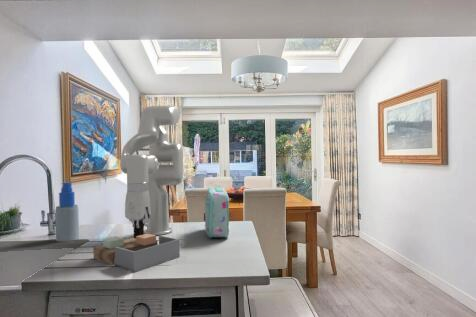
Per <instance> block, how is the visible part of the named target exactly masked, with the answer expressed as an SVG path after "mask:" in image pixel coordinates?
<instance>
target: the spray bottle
mask: <svg viewBox="0 0 476 317" xmlns="http://www.w3.org/2000/svg"><path fill="white" fill-rule="evenodd" d="M58 198H59V199H58V201H59V202H58V204H59V205H57V206H55V212H54V213H55V241H56V242H71V241H74V240H78V239H79V238H80V227H79V226H80V225H79V224H80V222H79V220H80V219H79V215H80V214H79V206H78V204H76V203H75V200H76V199H75V198H76V197H75V191H73V187H72V182H61V189H60V192H58Z"/></svg>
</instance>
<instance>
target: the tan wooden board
mask: <svg viewBox="0 0 476 317" xmlns="http://www.w3.org/2000/svg"><path fill="white" fill-rule="evenodd" d="M156 245H159V242H158V240H157V239H156V243H152V244H148V245H145V246H144V245H140V244H137V243H136V239H135V238H134V236H133V237H129V238H124V246H120V248H124V249H127V250H131V251H138V250H141V249H145V248H149V247H152V246H156ZM93 259H94V260H97V261H100V262H102V263H106V264H109V265H111V266H112V265H114V259H115V248H112V249H109V248H106V247H103V244H100V245H96V246H93Z"/></svg>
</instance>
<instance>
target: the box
mask: <svg viewBox="0 0 476 317" xmlns="http://www.w3.org/2000/svg"><path fill="white" fill-rule="evenodd" d="M180 250H181V249H180V238H175V237H169V236H166V235H165V236H164V235H158V245H156V246H152V247H149V248H145V249H141V250H138V251H131V250H127V249H124V248H120V247H115V259H114V266H115V267H118V268H120V269H124V270H126V271H130V272H132V273H136V272H139V271H142V270H145V269H148V268H151V267H153V266H154V267H155V266H157V265H159V264H162V263H165V262H169V261H171V260H174V259H177V258H180V256H181V255H180Z"/></svg>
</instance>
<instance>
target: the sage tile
mask: <svg viewBox="0 0 476 317" xmlns="http://www.w3.org/2000/svg"><path fill="white" fill-rule="evenodd" d="M124 239H125V238H124V237H120V236H113V237H109V238H104V239H102V245H103V247H106V248H109V249H112V248H115V247H120V246H124Z"/></svg>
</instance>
